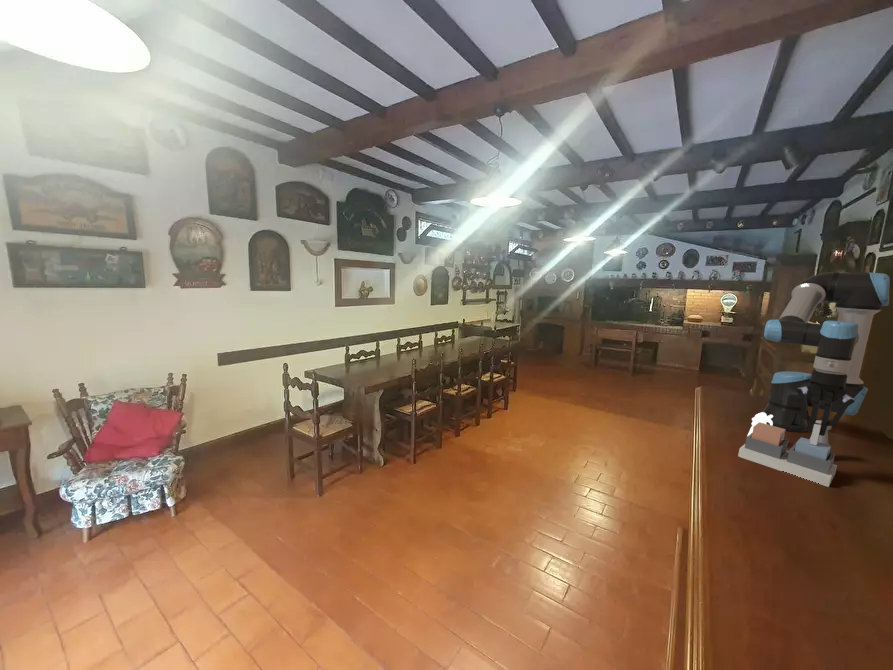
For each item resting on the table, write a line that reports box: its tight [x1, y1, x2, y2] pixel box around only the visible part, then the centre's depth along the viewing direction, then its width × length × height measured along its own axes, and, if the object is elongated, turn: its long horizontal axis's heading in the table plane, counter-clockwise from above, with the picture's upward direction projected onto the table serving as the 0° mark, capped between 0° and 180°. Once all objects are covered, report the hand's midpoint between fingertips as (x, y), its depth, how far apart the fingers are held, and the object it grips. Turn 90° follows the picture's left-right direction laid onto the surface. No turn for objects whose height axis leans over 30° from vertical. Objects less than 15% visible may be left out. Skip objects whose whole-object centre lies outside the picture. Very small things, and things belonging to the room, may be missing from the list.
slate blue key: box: [795, 436, 832, 461], centre depth 116 cm, size 7×7×5 cm
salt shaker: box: [808, 419, 833, 445], centre depth 127 cm, size 6×6×13 cm
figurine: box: [746, 411, 773, 437], centre depth 136 cm, size 7×7×12 cm
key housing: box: [737, 433, 838, 488], centre depth 121 cm, size 13×22×7 cm, turn 37°
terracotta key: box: [751, 422, 787, 446], centre depth 124 cm, size 7×7×5 cm
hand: (813, 443), depth 115 cm, fingers closed
